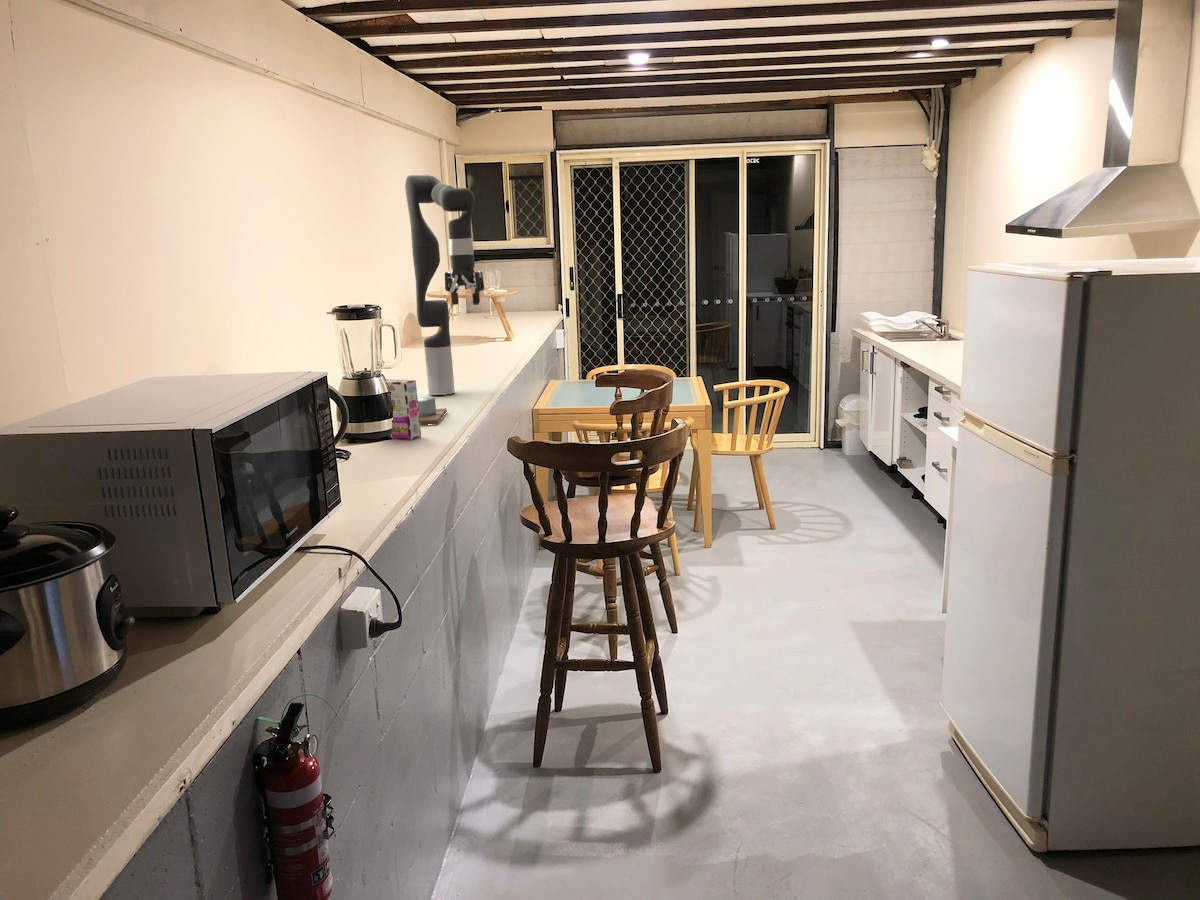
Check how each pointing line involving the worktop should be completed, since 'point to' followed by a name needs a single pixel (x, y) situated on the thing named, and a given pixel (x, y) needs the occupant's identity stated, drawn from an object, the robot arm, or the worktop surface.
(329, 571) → the worktop surface
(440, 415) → the walnut base
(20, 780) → the worktop surface
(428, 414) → the hollow metal block
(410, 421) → the candy bar box
